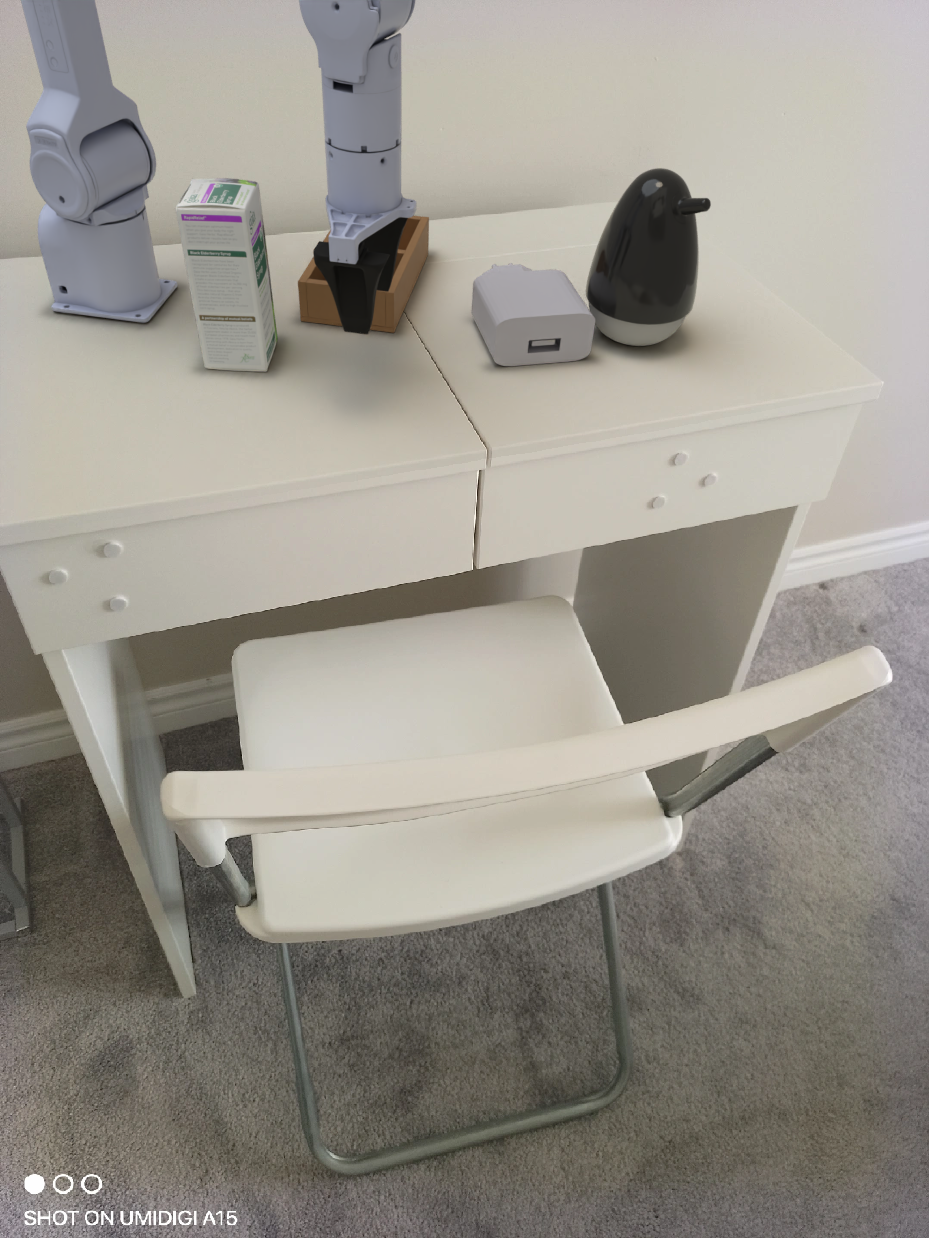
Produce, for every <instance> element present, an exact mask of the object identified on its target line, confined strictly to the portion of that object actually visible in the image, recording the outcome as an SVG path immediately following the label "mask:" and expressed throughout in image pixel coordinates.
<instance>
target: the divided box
mask: <svg viewBox="0 0 929 1238" xmlns="http://www.w3.org/2000/svg"><path fill="white" fill-rule="evenodd" d="M330 232H331V230H329V231H328V233H327V234H326V236H325V238H323V241H322V242H329V237H328V236H329V234H330ZM429 236H430V217H429V216H423V215H422V216H420V215H414V216H412V217H410V218H408V219H407V222H406V224H405V227H404V230H403V233H402V236H401V239H400V243H399V247H398V252H397V257H396V263H395V269H394V274H393V279H392V283H391V286H390V289H389V291H388V292H387V291H379V290H377V291H376V297H375V306H374V314H373V320H372V325H371V328H370V331H375V332H376V331H377V332H385V333H391V334H392V333H393V334H394V333H395V332H396V329H397V328H398V324H399V322H400V320H401V318H402V316H403V313H404V311H405V308H406V306H407V304H408V301H409V299H410V298H411V295H412V292H413V291H414V288H415V286H416V283H417V281H418V279H419V276H420V275H421V272H422V270H423V267H424V264H425V263H426V260H427V258H428V256H429V245H430V243H429V242H430V241H429V239H430V237H429ZM297 290H298V291H297V292H298V302H299V313H300V314H299V315H300V321H301V322H306V323H307V322H308V323H313V324H320V325H321V324H322V325H330V326H336V327H337V326H338V327H343V326H342V324H341V321H340V317H339V314H338V310H337V307H336V304H335V301H334V297H333V294H332V292H331V289H330V287H329V285H328V283H327V281H326V279H325V278H324V276H323V274H322V273H321V271H320V270H319V269H318V267H317V266H316V265H315V262H314V255H313V256H312V258H311V259H310V261H309V263H308V264H307V265H306V268H305V269H304V270H303V272H302V274H301V276H300V277H299V279H298V280H297Z"/></svg>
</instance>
